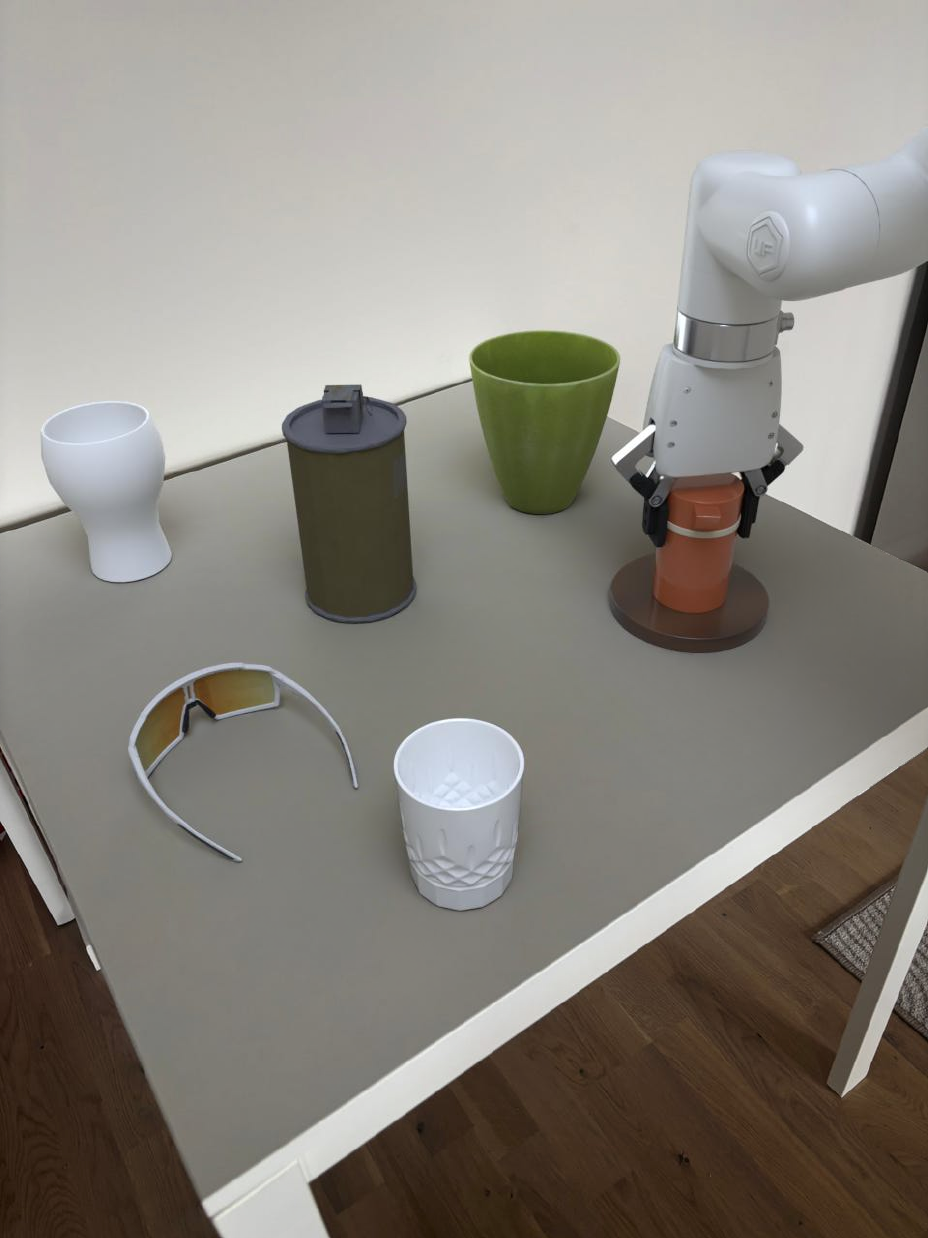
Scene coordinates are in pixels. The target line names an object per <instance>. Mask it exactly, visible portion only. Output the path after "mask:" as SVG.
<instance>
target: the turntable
mask: <svg viewBox="0 0 928 1238" xmlns="http://www.w3.org/2000/svg"><path fill="white" fill-rule="evenodd" d="M655 556H656V553H651V554H648V555H647V554H646V555H644V556H640V557H638V558H635V559H634V560H632V561H630V562H628V563H626V564H625V565H623V566H622V567H621V568H620V569H619V570H618V571H617V572H616V574H615V575H614V576H613V579H612V580H611V584H610V590H609V591H610V592H609V607H610V611H611V612H612V613H611V614H612V615H613V617H614V618H615V619H616V621H617V622H618V624H619V625H620V626H622V628H624V630H626V631H627V632H628V633H630V634H632V635H633V636H634V637H636V638H637V639H640V640H642V641H644V642H646V643H649V644H651V645H653V646H656V647H660V648H663V649H668V650H672V651H676V652H685V653H701V654H702V653H715V652H723V651H727V650H732V649H734V648H737V647H740V646H741V645H744V644H746V643H748V642H750V641H751V640H753V639H754V638H755V637H756V636H758V635H759V634H760V632H761V631H762V630H763V628H764V626H765V624H766V621H767V616H768V613H769V607H770V599H769V595H768V592H767V590H766V588H765V586H764V584H762V582H761V580H759V578H757V577H756V576H755V575H754V574H753V573H751V572H750V571H749V570H747V569H746V568H744V567H742V566H740V565H739V564H737V563H734V562H732V566H731V572H730V578H729V584H728V590H727V596H726V600H725V602H724V603H723V604H722V605H721V606H720V607H718V608H717V609H715V610H712V611H709V612H703V613H686V612H680V611H676V610H673V609H671V608H668V607H666V606H664V605H663V604H661V603H660V602H659V601H658V600H657V599H656V598H655V597H654V595H653V593H652V583H653V574H654V565H655Z"/></svg>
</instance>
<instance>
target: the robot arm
mask: <svg viewBox="0 0 928 1238" xmlns="http://www.w3.org/2000/svg"><path fill="white" fill-rule="evenodd" d="M796 162H797V161H796V160H794V159H792V158H791V157H788V156H787V155H783V154H781V153H777V152H772V151H762V150H729V151H723V152H722V151H721V152H716V153H714V154H710V155H708V156H706V157H704V158H703V159H702V160H700V161H699V162H698V164H697V165H696V166H695V167H694V170H693V172H692V176H691V180H690V184H689V191H688V192H689V193H688V201H687V212H686V219H685V221H686V222H685V229H684V238H683V239H684V240H683V249H682V256H681V257H682V259H681V267H680V275H679V286H678V295H677V303H676V304H677V305H676V314H675V321H674V322H675V323H674V330H673V331H674V333H673V342H672V343H666V344H664V345H663V346H662V348H661V349H660V352H659V356H658V358H657V362H656V365H655V368H654V372H653V375H652V380H651V384H650V386H649V387H650V388H649V391H648V396H647V401H646V407H645V411H644V418H643V424H642V431H641V432H640V433H638V434H637V435H636V436H634V438H633V439H631V440H630V441H629V442H628V443H626V444H625V445H624V446H623V447H622V448H621V449H619V451H617V452H616V453H615V454H614V455H612V456H611V459H610V460H611V463H612V465H613V467H614V468H615V470H616V471H617V472H618V473H619V474H620V476H621V477H623V478H624V480H625V481H627V483H628V484H629V485H630V486H631V487H632V489H634V490H635V491H636V492H637V493H638V494H639V495H640V496H641V497H642V498H643V505H642V507H643V508H642V516H641V530H642V532H643V533H644V535H646V536H648V537H649V539H650V540H651V542H652V544H653V545H654V547H655V549H656V548H658V547H663V545H665V540H666V532H667V523H668V515H669V507H668V505H667V504H666V502H665V499H666V497H667V496H668V494H669V492H670V491H671V489H672V488H673V486H674V484H675V483H676V481H677V480H678V478H684V477H695V476H706V475H716V474H726V473H732V474H736V473H738V474H739V476H740V479H741V480H742V482H743V484H744V494H743V500H742V506H741V512H740V513H741V520H740V525H739V527H738V530H737V535H738V537H739V538H741V539H749V538H750V536H751V531H752V526H753V525H754V524H755V523H756V520H757V515H758V509H759V503H760V499H761V498H760V497H763V496H765V495H766V494H767V492H768V490H769V488H768V487H769V486H770V485H771V484H772V483H773V482H775V480H776V479H778V478H779V477H780V476H781V475H782V474H783V473H784V472H785V470H786V467H787V466H789V465H791V463H792V462H793V461H794V460H795V459H796V458H797V457H798V456H799V455H800V454H801V453H802V452H803V451H804V444H802V442H801V441H799V439H798V438H797V437H796V436H794V435H793V434H792V433H791V432H790V431H789V430H787V429H786V428H785V427H784V426H783V425H782V424H781V423H780V421H781V410H782V395H783V393H782V391H783V389H782V387H783V386H782V385H783V380H782V379H783V378H782V377H783V376H782V375H783V374H782V357H781V351H780V348H778V346H777V345H778V341H779V335H780V334H782V333H783V332H786V331H792V330H793V328H794V326H795V316H794V314H793V312H784V311H782V305H783V302H799V301H801V302H802V301H806V300H810V299H814V298H818V297H821V296H822V297H823V296H825V295H826V296H827V295H830V294H834V293H837V292H841V291H844V290H846V289H849V288H854V287H857V286H860V285H865V284H868V283H869V284H870V283H872V282H876V281H881V280H885V279H889V278H893V277H897V276H900V275H902V274H904V273H907V272H909V271H911V270H914V269H915V268H918V267H920V266H921V265H923V264H925V263H926V262H928V124H927V125H926V126H925V127H924V128H921V130H920V131H918V132H917V133H916V134H914V136H912V138H911V139H909V140H908V141H907V142H906V143H904V144H903V145H902V146H900V147H899V148H898V149H897V150H895V151H894V152H893V153H891V154H890V155H888V156H887V157H885V158H883V159H880V160H874V161H867V162H860V163H856V164H850V165H845V166H840V167H834V168H830V169H826V170H821V171H814V172H808V173H803V174H802V172H801V168H800V166H799V165H798V163H796ZM645 456H646V457H648V458H653V460H654V461H653V462H652V464H651V466H650V467H649V468H648V471H647V472H646V474H644V473H643V471H641V470H640V469H639V468H638V467H637V464H638V462H639V461H641V460H642V459H643V458H644V457H645Z"/></svg>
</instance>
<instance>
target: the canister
mask: <svg viewBox="0 0 928 1238" xmlns="http://www.w3.org/2000/svg"><path fill="white" fill-rule="evenodd" d="M407 421H408V420H407V416H406V413H405V412H404V410H402V408H400V407H399V406H397V404H395V403H393V402H391V401H387V400H383V399H379V398H375V397H371V396H367V395H364V392H363V385H362V384H325V385H324V389H323V395H322V398H321V399H317V400H314V401H312V402H309V403H306V404H303V405H300V406H299V407H297V408H295V409H294V410H292V411H291V412H289V413H288V414H287V415H286V417H285V418H284V420H283V421H282V423H281V431H282V436H283V437H284V438H285V440H286V447H287V454H288V460H289V461H288V462H289V467H290V468H289V469H290V476H291V482H292V483H291V484H292V490H293V497H294V505H295V513H296V520H297V529H298V535H299V542H300V543H299V544H300V551H301V557H302V564H303V565H302V566H303V573H304V579H305V590H304V597H305V601H306V603H307V605H308V607H310V609H311V610H313V611H314V613H315V614H316V615H319V616H321V617H324V618H325V619H328V620H330V621H332V622H333V621H334V622H338V623H346V624H365V623H366V624H367V623H372V622H377V621H381V620H385V619H387V618H390V617H392V616H394V615H395V614H397V613H399V612H401V611H402V610H404V609H405V608H406V607H408V606H409V604H410V603H412V601H413V600H414V598H415V595H416V592H417V582H416V578H415V577H414V571H413V570H414V569H413V556H412V555H413V553H412V538H411V537H412V536H411V522H410V506H409V505H410V504H409V489H408V473H407V472H408V470H407V456H406V455H407V454H406V439H405V437H406V436H405V429H406V426H407V423H408V422H407Z"/></svg>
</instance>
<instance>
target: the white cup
mask: <svg viewBox="0 0 928 1238" xmlns="http://www.w3.org/2000/svg"><path fill="white" fill-rule="evenodd" d="M524 772H525V757H524V753H523V751H522V748H521V746H520V745H519V743H518V742H517V740H516V739H515V738H514V737H513V736H512V735H511V734H510V733H509V732H507V731H506V730H504V729H503V728H501V727H499V726H497V725H495V724H493V723H491V722H488V721H485V720H481V719H477V718H476V719H475V718H467V717H456V718H454V717H453V718H446V719H441V720H436V721H433V722H430V723H428V724H425V725H423V726H421V727H419V728H417V729H416V730H414V731H413V732H411V733H410V734H409V735H408V736H407V737H406V738H404V740H403V741H402V742H401V743H400V745H399V746H398V748H397V751H396V753H395V755H394V759H393V773H394V779H395V786H396V793H397V800H398V807H399V814H400V820H401V821H400V822H401V826H402V831H403V837H404V844H405V848H406V852H407V856H408V860H409V867H410V874H411V878H412V880H413V882H414V884H415V886H416V888H417V890H418V892H419V894H420V895H422V897H424V898H425V899H426V900H429V902H430V903H432V904H433V905H435V906H436V907H440V908H445V909H449V910H452V911H453V910H454V911H457V912H458V911H459V912H461V911H468V910H469V911H470V910H475V909H481V908H484V907H486V906H487V905H489V904H490V903H492V902H493V901H495V900H497V899H498V898H501V896H503V894H504V892H506V890H507V887H508V886H509V885H510V883H511V882H512V879H513V874H514V873H513V872H514V858H515V851H516V847H517V844H518V836H519V828H520V827H519V825H520V820H521V811H522V810H521V808H522V807H521V806H522V798H523V797H522V795H523V784H524Z"/></svg>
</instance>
